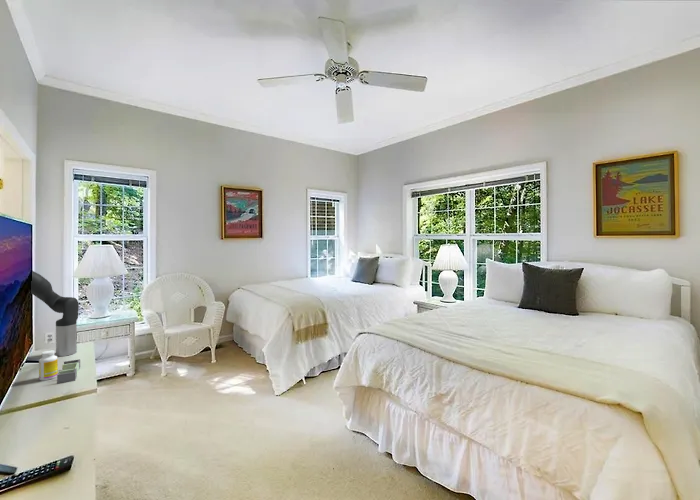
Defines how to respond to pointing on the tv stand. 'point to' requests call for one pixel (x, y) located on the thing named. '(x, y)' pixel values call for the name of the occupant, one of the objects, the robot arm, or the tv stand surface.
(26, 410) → the tv stand surface
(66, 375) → the bay rack
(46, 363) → the supplement bottle
